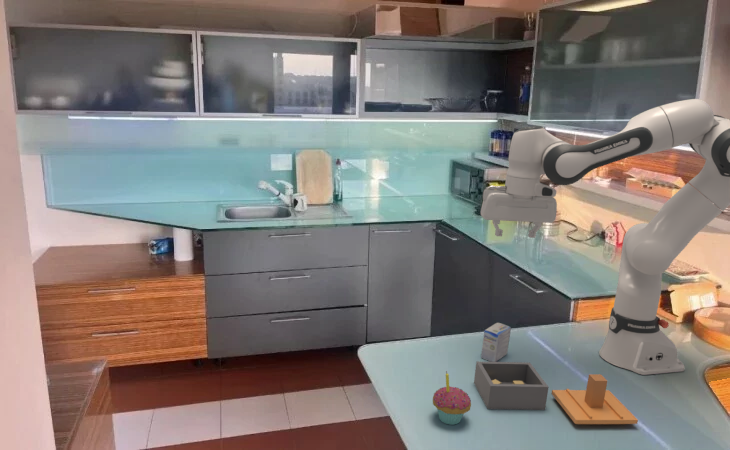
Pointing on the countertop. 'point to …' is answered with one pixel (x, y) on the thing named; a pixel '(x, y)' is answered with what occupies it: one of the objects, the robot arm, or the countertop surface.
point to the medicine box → (495, 342)
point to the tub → (510, 385)
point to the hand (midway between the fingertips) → (515, 236)
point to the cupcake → (451, 403)
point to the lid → (594, 404)
